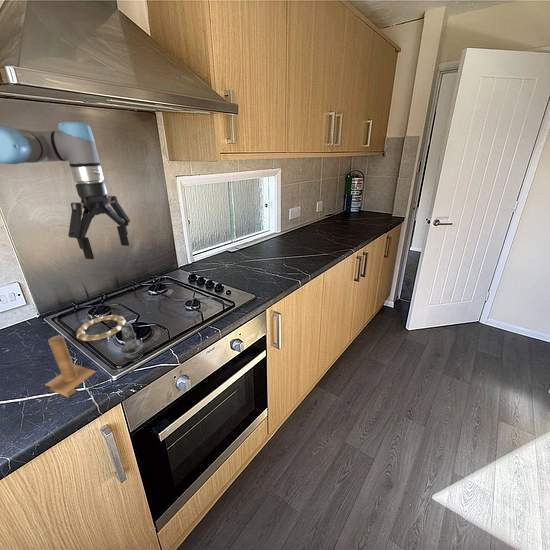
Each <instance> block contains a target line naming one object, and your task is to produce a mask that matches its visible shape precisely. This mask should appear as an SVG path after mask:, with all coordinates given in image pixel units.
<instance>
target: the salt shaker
mask: <svg viewBox="0 0 550 550" xmlns="http://www.w3.org/2000/svg"><path fill="white" fill-rule="evenodd" d="M124 324H125V325H123V326H122V327H121V330H120V331H121V334H122V337H121V339H122V340H123V342H124V344H123V346H122V347H121V349H120V353H121V354H122V355H123V356H124V358H128V359H131V360H130V361H129V362H131V361H136V360H138V359H140V358H141V357H142V356H143V353H144V352H143V350H144V343H143V342H142V341H138V340H137V337H136V336H137V333H135V331H134V328H133V325H132V324H131V323H128V322H127V321H126V322H125V323H124ZM142 352H143V353H142Z"/></svg>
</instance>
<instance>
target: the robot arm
mask: <svg viewBox="0 0 550 550" xmlns="http://www.w3.org/2000/svg"><path fill="white" fill-rule="evenodd" d="M57 126H58V130H53V131H52V130H51V131H47V130H46V131H45V130H44V131H43V130H42V131H41V130H39V131H38V130H36V131H35V130H28V129H20V128H19V129H18V128H13V127H9V126H0V164H4V165H5V164H6V165H19V164H25V163H29V164H31V163H32V164H33V163H34V164H36V163H49V162H66V161H67V162H68V163H69V167H70V171H71V175H72V179H73V182H75V183H76V184H75V188H76V189H75V190H76V192H77V195H78V197H79V198H80V202H70V208H71V213H70V219H69V220H70V222H69V227H68V228H69V229H68V234H67V235H68V237H69V238H71V239H76V240H77V243H78V246H79V249H80V250H82V252H83V255H84V258H85V260H94V259H95V256H94V253H93V249H92V246H91V243H90V239H89V237H87V233H88V230H89V229H90V225H91V223H92V221H93V218H95V216H99V215H104V214H105V215H106V216H107V217H109V218H110V219H111V220H112V221H113V222H114V223H115V224H117V226H116V229H117V233H118V238H119V241H120V245H121V246H124V247H129V246H130V241H129V238H128V235H129V232H128V228H127V227H128V226H129V225H130V223H131V219H130V217H129V216H128V214H127V213H126V211H125V209H123V207H122V206H121V204H120V203H119V200H118V197H117V196H116V195H108V190H107V189H108V188H107V184H106V182H105V181H104V180H105V178H104V174H103V169H102V166H101V162H100V158H99V154H98V149H97V145H96V140H95V138H94V134H93V130H92V128H91V126H90V125H89V124H88V123H86V122H81V121H62V122H59V123H58V124H57ZM107 195H108V196H107Z"/></svg>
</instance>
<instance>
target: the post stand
mask: <svg viewBox="0 0 550 550" xmlns="http://www.w3.org/2000/svg"><path fill="white" fill-rule="evenodd" d="M47 342H48V345H49V347H50V350H51V352H52V354H53V357H54V359H55V362H56V364H57V367H58V369H59V372H60V374H58V375H57V376H55V377H53V378H52V379H51V380H49V381H48V382H46V383H45V384H44V386H46V387H49V388H48V391H50V392H53V393H54V394H55V393H56V394H58V395H60V396H63V397H66V398H69V397H72V395H73V394H75V393H76V392H77V391H78V389H76V388H77V387H78V386H80V385H81V384H82V383H83V382H85V381H86V380H87V379H89V378H91V376H94V374H96V373H97V371H96V370H93V369H90V368H88V367H84V366H81V365H78V364H74V361H73V359H72V357H71V354H70V351H69V348H68V346H67V343H66V340H65V338H64V335H61V334H58V335H54V336H52V337H50V338H49V339H48V340H47Z"/></svg>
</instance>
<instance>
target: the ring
mask: <svg viewBox="0 0 550 550" xmlns="http://www.w3.org/2000/svg"><path fill="white" fill-rule="evenodd" d="M110 320H111V321H116V322H117V325H116V326H115V327H114V328H112V329H110V330H108V331H105V332H102V333H99V334H86V330H87V329H88V328H90V327H91V326H92V325H94V324H97V323H99V322H103V321H110ZM125 322H126V323H127V321H126V319H125V317H123V316H122V315H116V314H110V315H109V314H108V315H102V316H98V317H95V318H91V319H90V320H88V321H86V322H85V323H83V324H81V325H80V327H79V328H78V329H77V330H76V331H75V335H76V338H77V339H78V340H80V341H83V342H91V341H92V342H93V341H100V340H102V339H106V338H109V337H111V336H113V335H115V334H117V333H118V332H120V331H122V330H121V327H122V326H123V325H125V324H124V323H125Z"/></svg>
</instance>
